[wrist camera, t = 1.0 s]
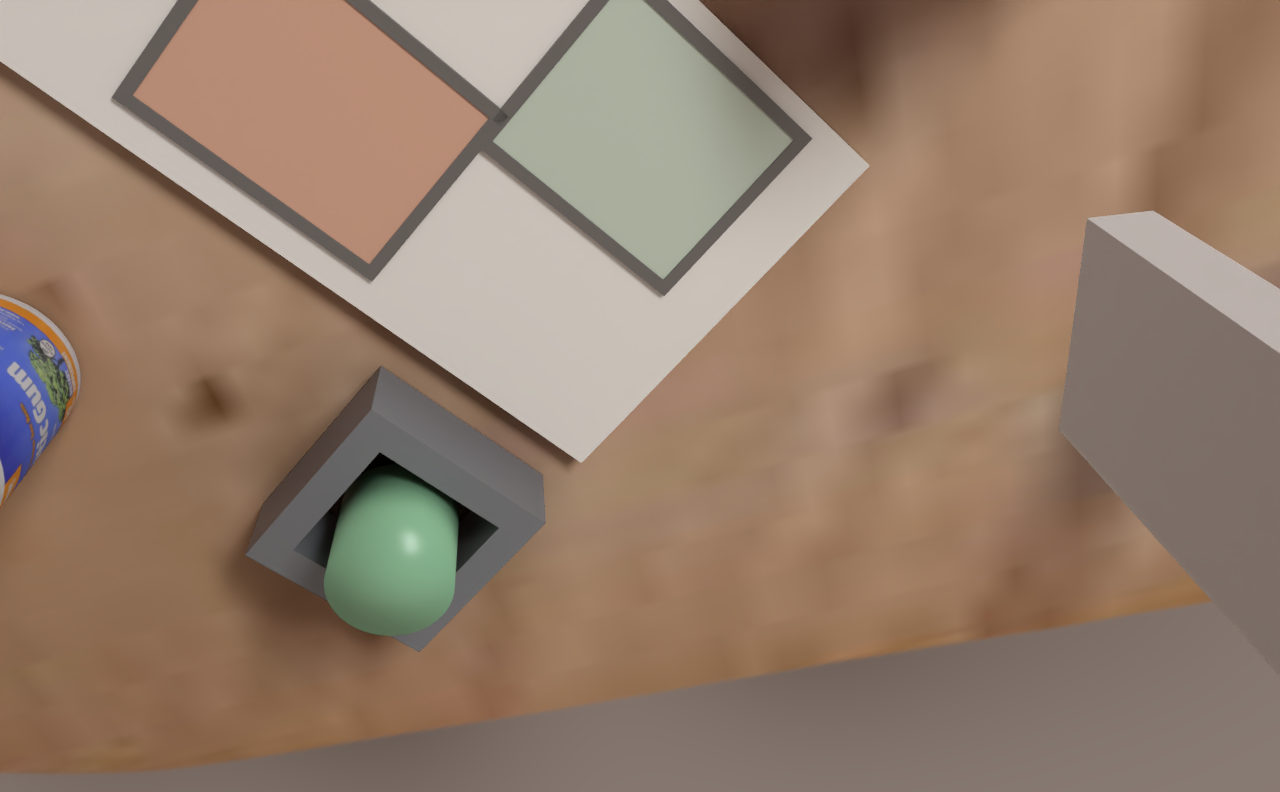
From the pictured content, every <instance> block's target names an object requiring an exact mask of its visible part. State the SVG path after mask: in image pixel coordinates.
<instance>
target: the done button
mask: <svg viewBox="0 0 1280 792" xmlns="http://www.w3.org/2000/svg"><path fill="white" fill-rule="evenodd" d="M458 528H459V505H458V502H457V501H456V500H454V499H453V498H451V497H450V496H448V495H446V494H445V493H443V492H442V491H440V490H439V489H437V488H435V487H434V486H432V485H431V484H429V483H428V482H426V481H424V480H423V479H421V478H420V477H418V476H417V475H415V474H413V473H412V472H410V471H409V470H407V469H406V468H404V467H402V466H401V465H399V464H389V465H383V466H380V467H376V468H374V469H371V470H369V471H367V472H365V473H363V474H362V475H360V476H359V477H358V478H356V480H355V481H354V482H353V483H352V484H351V485H350V486H349V487H348V489H347V491H346V492H345V494H344V497H343V500H342V504H341V508H340V512H339V516H338V521H337V525H336V529H335V533H334V538H333V542H332V546H331V551H330V555H329V559H328V563H327V568H326V572H325V577H324V590H325V595H326V598H327V601H328V602H329V604H330V606H331V608H332V609H333V610H334V612H335V613H336V614H337V615H338V616H339V617H340V618H341V619H342V620H344V621H345V622H346V623H348V624H349V625H351V626H353V627H355V628H357V629H359V630H362V631H364V632H367V633H371V634H376V635H383V636H398V635H405V634H410V633H414V632H417V631H420V630H422V629H424V628H426V627H428V626H430V625H432V624H433V623H434V622H436V621H437V620H438V619H439V618H440V617H442V615H443V614H444V613H445V612H446V611H447V609H448V607H449V606H450V604H451V602H452V599H453V596H454V591H455V576H456V560H457V544H458Z"/></svg>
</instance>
